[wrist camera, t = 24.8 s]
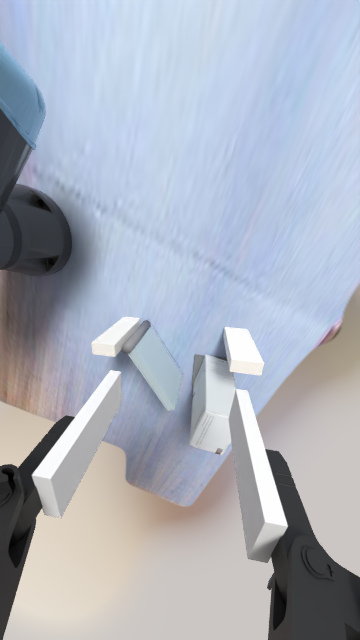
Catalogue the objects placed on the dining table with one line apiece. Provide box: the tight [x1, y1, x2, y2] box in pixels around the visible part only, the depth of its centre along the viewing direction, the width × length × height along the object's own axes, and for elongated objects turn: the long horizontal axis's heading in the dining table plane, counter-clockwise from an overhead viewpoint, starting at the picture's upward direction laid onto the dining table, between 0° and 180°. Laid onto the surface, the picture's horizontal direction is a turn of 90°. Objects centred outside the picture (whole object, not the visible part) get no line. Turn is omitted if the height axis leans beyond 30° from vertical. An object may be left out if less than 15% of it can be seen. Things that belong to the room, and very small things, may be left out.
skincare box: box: [189, 354, 236, 455], centre depth 35 cm, size 8×6×15 cm
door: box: [122, 320, 183, 411], centre depth 36 cm, size 15×3×11 cm, turn 30°
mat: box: [192, 355, 228, 386], centre depth 42 cm, size 8×8×1 cm
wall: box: [92, 317, 264, 375], centre depth 34 cm, size 25×2×12 cm, turn 86°
